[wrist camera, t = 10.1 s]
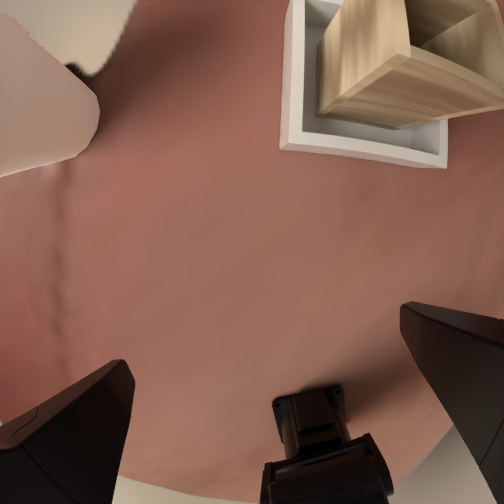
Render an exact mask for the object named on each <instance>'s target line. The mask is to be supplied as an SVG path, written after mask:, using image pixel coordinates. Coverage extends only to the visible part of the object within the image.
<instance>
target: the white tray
mask: <svg viewBox="0 0 504 504" xmlns="http://www.w3.org/2000/svg"><path fill="white" fill-rule="evenodd" d="M343 2H344V0H290V2H289V6H288V9H287V13H286V17H285V26H284V55H283V80H282V102H281V123H280V142H279V150H289V151H300V152H310V153H319V154H328V155H336V156H344V157H352V158H359V159H366V160H372V161H378V162H384V163H390V164H396V165H401V166H407V167H412V168H445V169H447V154H448V119H443V120H438V121H434V122H429V123H424V124H420V125H415V126H411V127H407V128H403V129H398V130H389V129H385V128H380V127H375V126H370V125H365V124H360V123H354V122H348V121H342V120H336V119H330V118H323V117H315V92H316V53H317V44H318V43H319V41H320V39H321V38H322V36H323V34H324V33H325V31H326V29H327V28H328V26H329V24H330V23H331V21H332V19H333V18H334V16H335V15H336V13H337V11H338V10H339V8H340V6H341V5H342V3H343Z"/></svg>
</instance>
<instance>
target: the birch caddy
mask: <svg viewBox="0 0 504 504" xmlns="http://www.w3.org/2000/svg"><path fill="white" fill-rule="evenodd" d="M500 109H504V25H503V22H502V18H501V15H500V11H499V8H498V5H497V2H496V1H495V0H344V2H343V3H342V5H341V6H340V8H339V10H338V11H337V13H336V15H335V16H334V18H333V19H332V21H331V23H330V24H329V26H328V28H327V29H326V31H325V33H324V34H323V36H322V38H321V39H320V41H319V43H318V44H317V53H316V92H315V117H323V118H330V119H336V120H342V121H348V122H354V123H360V124H365V125H370V126H375V127H380V128H385V129H389V130H398V129H403V128H407V127H411V126H415V125H420V124H424V123H429V122H434V121H438V120H443V119H448V118H453V117H459V116H464V115H469V114H475V113H481V112H487V111H493V110H500Z"/></svg>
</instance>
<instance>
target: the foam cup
mask: <svg viewBox="0 0 504 504" xmlns="http://www.w3.org/2000/svg"><path fill="white" fill-rule="evenodd" d="M99 115H100V108H99V104H98V100H97V96H96V95H95V94H94V93H93V92H92V91H91V90H90V89H89V88H88V87H87V86H86V85H85V84H84V83H83V82H82V81H81V80H80V79H79V78H78V77H76V76H75V75H74V74H73V73H72V72H71V71H69V70H68V69H67V68H66V67H65V66H64V65H63V64H61V63H60V62H59V61H58V60H57V59H56V58H54V57H53V56H52V55H51V54H50V53H49V52H47V51H46V50H45V49H44V48H43V47H42V46H40V45H39V44H38V43H37V42H36V41H34V40H33V39H32V38H31V37H30V36H29V33H28V32H27V31H26V30H25V29H24V28H23V27H22V26H21V25H20V24H19V23H18V21H17V20H16V19H14V18H12V17H11V16H9V15H7V14H5V13H3V12H1V11H0V177H2V176H6V175H9V174H13V173H16V172H20V171H23V170H27V169H31V168H35V167H39V166H43V165H47V164H51V163H55V162H59V161H63V160H66V159H70V158H74V157H76V156H77V155H78V154H79V153H80V152H82V151H83V150H84V149H85V148H86V147H87V146H88V145H89V143H90V141H91V139H92V138H93V136H94V134H95V132H96V130H97V127H98V121H99Z"/></svg>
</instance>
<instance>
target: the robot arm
mask: <svg viewBox="0 0 504 504" xmlns="http://www.w3.org/2000/svg"><path fill="white" fill-rule="evenodd" d="M400 332H401V334H402V336H403V338H404V340H405V342H406V344H407V346H408V348H409V350H410V352H411V354H412V356H413V358H414V360H415V362H416V364H417V366H418V367H419V369H420V371H421V372H422V374H423V375H424V377H425V378H426V380H427V381H428V383H429V385H430V386H431V388H432V389H433V391H434V392H435V394H436V395H437V397H438V399H439V400H440V402H441V403H442V405H443V407H444V408H445V410H446V411H447V413H448V415H449V416H450V418H451V420H452V421H453V423H454V425H455V426H456V428H457V430H458V431H459V433H460V435H461V436H462V438H463V440H464V441H465V443H466V445H467V447H468V448H469V450H470V452H471V454H472V456H473V457H474V459H475V461H476V463H477V465H478V466H479V469H480V471H481V473H482V474H483V476H484V478H485V480H486V482H487V484H488V486H489V488H490V490H491V492H492V494H493V496H494V498H495V500H496V502H497V504H504V319H499V320H498V318H493V317H488V316H483V315H478V314H473V313H468V312H463V311H458V310H453V309H448V308H443V307H438V306H433V305H428V304H423V303H418V302H413V301H411V302H408V303H404V304H402V305H401V307H400ZM337 390H339V391H337ZM134 391H135V380H134V377H133V375H132V373H131V371H130V369H129V367H128V365H127V363H126V361H125V360H123V359H118V360H112V361H110V362H109V363H107V364H106V365H104V366H102V367H101V368H99V369H98V370H96V371H94V372H93V373H91V374H89V375H88V376H86V377H84V378H83V379H81V380H80V381H78V382H76V383H75V384H73V385H71V386H70V387H68V388H66V389H65V390H63V391H61V392H60V393H58V394H56V395H55V396H53V397H52V398H50V399H48V400H47V401H45V402H43V403H42V404H40V406H36V407H35V408H33V409H31V410H30V411H28V412H26V413H24V414H23V415H21V416H19V417H17V418H15V419H13V420H11V421H10V422H8V423H6V424H4V425H2V426H0V504H112V500H113V495H114V490H115V484H116V480H117V475H118V471H119V466H120V461H121V457H122V453H123V448H124V444H125V440H126V436H127V432H128V428H129V423H130V418H131V411H132V404H133V397H134ZM276 404H278V405H276ZM272 408H273V412H274V415H275V419H276V423H277V427H278V431H279V435H280V439H281V442H282V443H283V444H284V448H285V455H286V460H282V461H277V462H273V463H272V462H268V463H265V468H264V471H263V477H262V486H261V494H260V503H259V504H389V502H388V499H387V497H388V496H390V495H393V493H394V489H393V483H392V479H391V476H390V472H389V469H388V467H387V464H386V462H385V460H384V458H383V456H382V454H381V452H380V451H379V449H378V447H377V445H376V444H375V442H374V440H373V438H372V436H371V435H370V433H367V434H364V435H363V436H362V437H359V438H356V439H353V440H351V437H350V434H349V432H348V429H347V426H346V423H345V411H344V390H343V388H342V386H341V385H336V386H332V387H328V388H324V389H320V390H316V391H312V392H307V393H303V394H298V395H293V396H288V397H283V398H278V399H274V400H273V401H272Z"/></svg>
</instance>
